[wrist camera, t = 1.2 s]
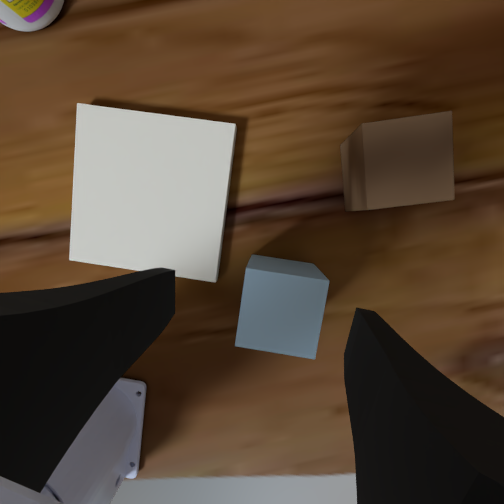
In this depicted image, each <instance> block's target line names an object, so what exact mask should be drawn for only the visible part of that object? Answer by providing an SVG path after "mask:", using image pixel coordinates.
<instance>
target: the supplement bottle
mask: <svg viewBox="0 0 504 504" xmlns="http://www.w3.org/2000/svg"><path fill="white" fill-rule="evenodd" d="M63 3H64V0H0V22H1V23H2V24H4V25H6V26H7V27H10V28H12V29H15V30H19V31H36V30H39V29H42V28H44V27H46V26H48V25H49V24H50V23H51V22H52V21H53V20H54V19H55V18H56V17H57V16H58V14H59V13H60V11H61V9H62V6H63Z"/></svg>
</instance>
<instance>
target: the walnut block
mask: <svg viewBox="0 0 504 504" xmlns="http://www.w3.org/2000/svg"><path fill="white" fill-rule="evenodd" d="M340 150H341V163H342V176H343V189H344V202H345V211H360V210H373V209H381V208H389V207H398V206H406V205H415V204H423V203H431V202H440V201H448V200H455V198H454V163H453V128H452V111H446V112H439V113H432V114H425V115H418V116H411V117H404V118H397V119H390V120H383V121H376V122H369V123H362V124H361V125H360V126H359V127H358V128H357V129H356V130H355V131H354V132H353V133H352V134H351V135H350V136H349V137H348V138H347V139H346V140H345V141H344V142H343V143H342V144H341V145H340Z"/></svg>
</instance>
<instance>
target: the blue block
mask: <svg viewBox="0 0 504 504" xmlns="http://www.w3.org/2000/svg"><path fill="white" fill-rule="evenodd" d="M328 287H329V280H328V279H327V278H326V276H325V275H324V274H323V273H322V272H321V271H320V270H319V269H318V268H317V267H316V266H315V265H314V264H313V263H306V262H299V261H293V260H286V259H280V258H273V257H266V256H260V255H253V254H252V255H251V258H250V260H249V262H248V265H247V267H246V271H245V278H244V285H243V292H242V299H241V306H240V313H239V320H238V327H237V334H236V341H235V346H237V347H243V348H249V349H255V350H261V351H267V352H273V353H279V354H285V355H291V356H297V357H303V358H309V359H315V356H316V351H317V346H318V340H319V335H320V330H321V324H322V319H323V314H324V308H325V303H326V297H327V292H328Z"/></svg>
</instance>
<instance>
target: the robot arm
mask: <svg viewBox="0 0 504 504" xmlns="http://www.w3.org/2000/svg"><path fill="white" fill-rule="evenodd" d="M174 314H175V270H172V269H167V268H162V267H161V268H153V269H148V270H143V271H139V272H134V273H130V274H126V275H122V276H117V277H113V278H109V279H104V280H99V281H94V282H90V283H85V284H79V285H74V286H67V287H60V288H53V289H45V290H33V291H21V292H9V293H0V504H110V503H111V501H112V499H113V497H114V496H115V494H116V492H117V490H118V488H119V487H120V485H121V483H122V481H123V479H124V477H126V478H135V477H136V476H137V474H138V470H139V460H140V449H141V439H142V428H143V418H144V407H145V397H146V384H145V383H144V382H142V381H138V380H132V379H126V378H121V376H122V375H123V374H124V373H125V372H126V371H127V370H128V369H129V368H130V366H131V365H132V364H133V363H134V362H135V361H136V360H137V359H138V358H139V357H140V356H141V355H142V354H143V352H144V351H145V350H146V349H147V348H148V347H149V346H150V345H151V344H152V343H153V342H154V340H155V339H156V338H157V337H158V336H159V335H160V334H161V333H162V331H163V330H164V329H165V327H166V326H167V324H168V323H169V321H170V320H171V318H172V317H173V315H174ZM344 380H345V387H346V394H347V401H348V408H349V415H350V422H351V428H352V435H353V442H354V451H355V464H356V485H357V504H504V417H503V416H501V415H500V414H498V413H496V412H495V411H493V410H492V409H490V408H489V407H487V406H486V405H484V404H483V403H481V402H480V401H478V400H477V399H476V398H474V397H473V396H471V395H470V394H468V393H467V392H466V391H464V390H463V389H462V388H460V387H459V386H458V385H456V384H455V383H454V382H452V381H451V380H450V379H448V378H447V377H446V376H445V375H443V374H442V373H441V372H440V371H438V370H437V369H436V368H435V367H434V366H432V365H431V364H430V363H429V362H428V361H427V360H425V359H424V358H423V357H422V356H421V355H420V354H418V353H417V352H416V351H415V350H414V349H413V348H412V347H411V346H410V345H409V344H408V343H407V342H406V341H405V340H403V339H402V338H401V337H400V336H399V335H398V334H397V333H396V332H395V331H394V330H393V329H392V328H391V327H390V326H389V325H388V324H387V323H386V322H385V321H384V320H383V319H382V318H381V317H380V316H379V315H378V314H377V313H376V312H374V311H370V310H365V309H361V308H356V311H355V315H354V318H353V322H352V326H351V330H350V333H349V337H348V341H347V345H346V349H345V352H344ZM138 391H139V392H141V394H139V393H138ZM132 462H134V463H132Z"/></svg>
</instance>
